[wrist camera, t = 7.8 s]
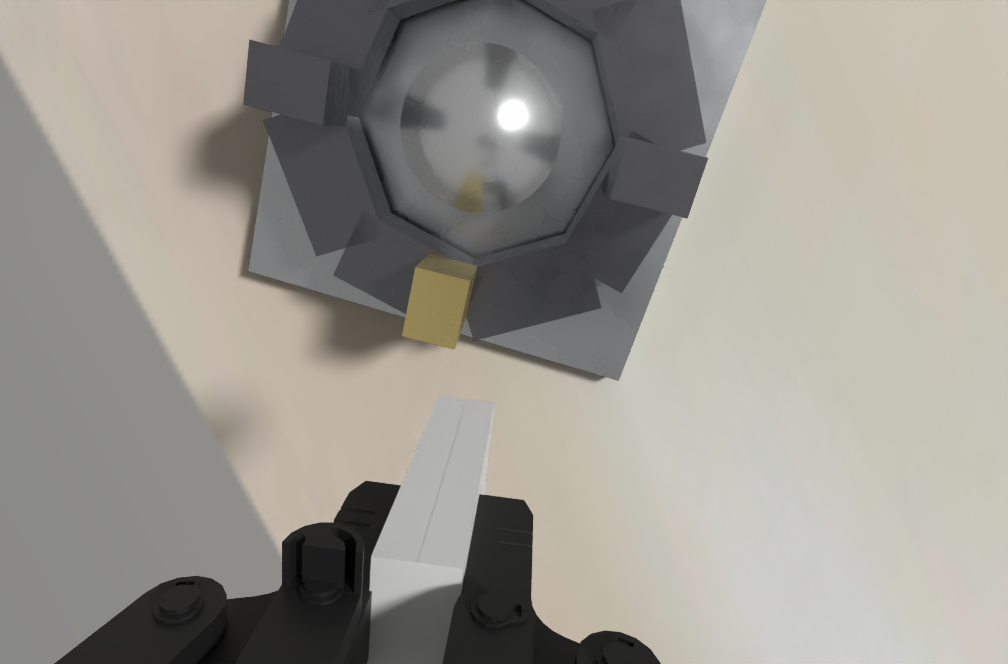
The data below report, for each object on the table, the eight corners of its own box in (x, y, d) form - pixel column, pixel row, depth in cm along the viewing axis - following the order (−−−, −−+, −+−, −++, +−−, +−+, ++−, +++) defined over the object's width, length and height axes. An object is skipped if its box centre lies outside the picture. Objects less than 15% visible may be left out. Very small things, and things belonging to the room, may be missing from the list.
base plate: (616, 373, 34) (626, 408, 29) (256, 267, 33) (214, 286, 29) (774, -35, 27) (817, -66, 23) (326, -180, 26) (284, -240, 22)
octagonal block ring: (373, 353, 33) (341, 394, 27) (235, -14, 27) (161, -48, 22) (715, 263, 30) (751, 291, 25) (635, -163, 24) (660, -243, 19)
